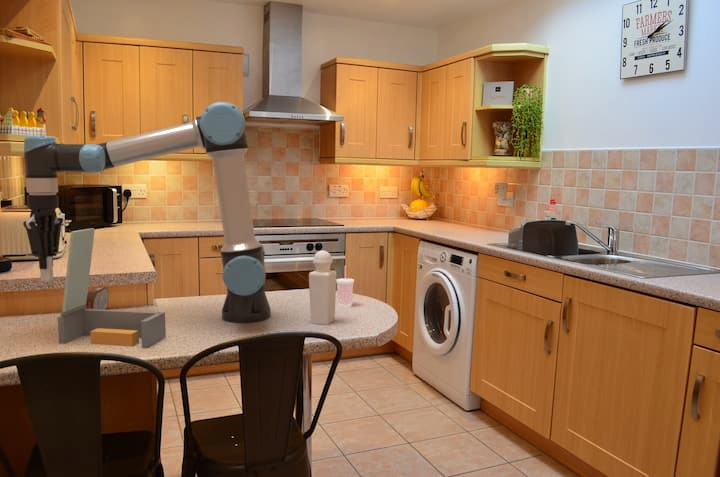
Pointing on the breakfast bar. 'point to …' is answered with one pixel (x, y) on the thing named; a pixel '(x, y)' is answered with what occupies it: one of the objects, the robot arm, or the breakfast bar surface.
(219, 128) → the robot arm
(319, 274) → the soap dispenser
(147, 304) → the breakfast bar surface
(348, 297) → the beverage cup
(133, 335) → the orange block
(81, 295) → the cover
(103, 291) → the tin
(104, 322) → the grey u-shaped bracket
